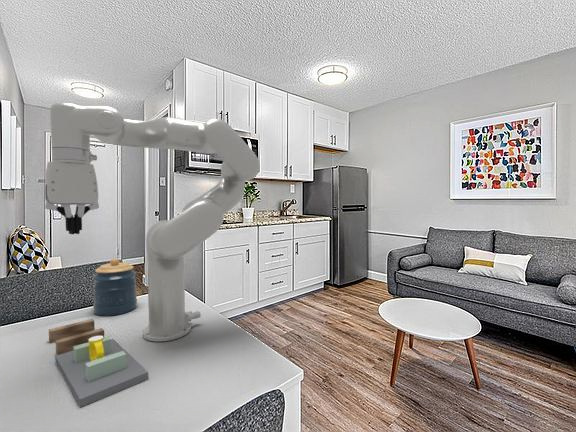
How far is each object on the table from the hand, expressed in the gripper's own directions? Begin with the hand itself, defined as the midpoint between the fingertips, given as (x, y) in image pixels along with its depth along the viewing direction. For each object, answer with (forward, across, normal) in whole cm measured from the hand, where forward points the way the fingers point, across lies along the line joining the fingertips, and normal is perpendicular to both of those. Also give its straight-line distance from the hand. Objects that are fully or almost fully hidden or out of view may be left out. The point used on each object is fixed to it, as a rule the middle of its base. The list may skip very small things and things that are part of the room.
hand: (74, 233), depth 74 cm
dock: (+29, -1, +14) cm, 32 cm away
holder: (+29, -1, -6) cm, 30 cm away
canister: (+29, -16, -24) cm, 41 cm away
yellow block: (+28, 0, +14) cm, 31 cm away
